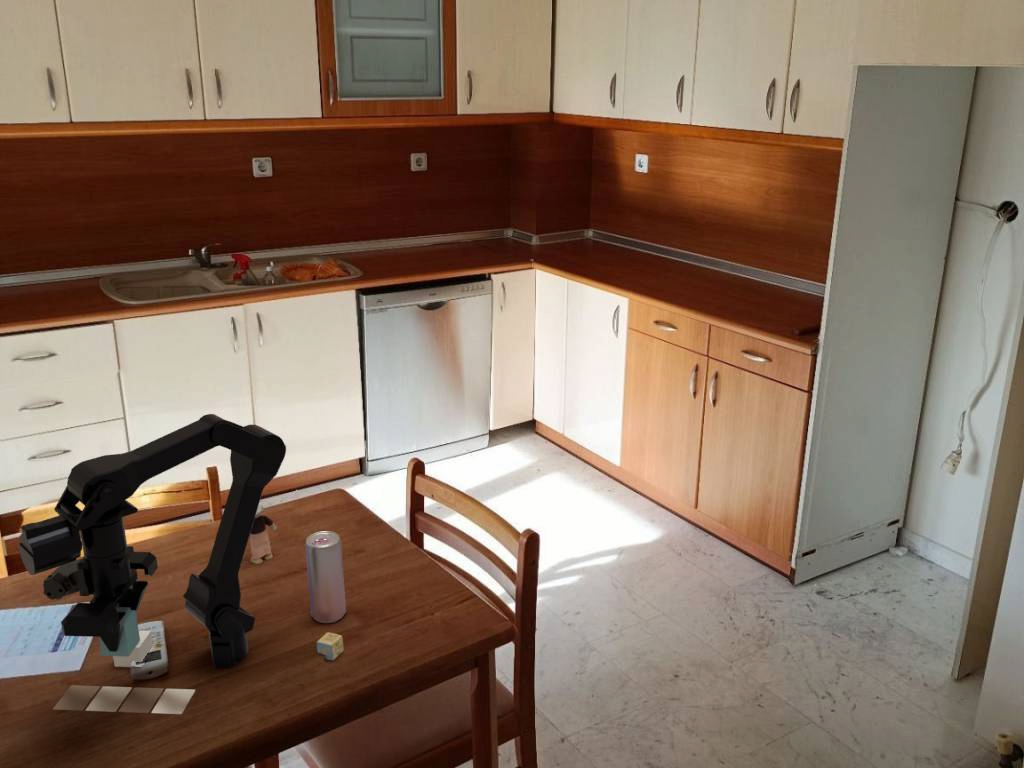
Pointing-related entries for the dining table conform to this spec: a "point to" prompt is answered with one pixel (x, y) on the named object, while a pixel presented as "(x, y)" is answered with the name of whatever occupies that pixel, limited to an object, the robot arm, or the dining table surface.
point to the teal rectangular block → (125, 635)
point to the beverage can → (325, 576)
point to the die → (136, 651)
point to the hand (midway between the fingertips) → (120, 642)
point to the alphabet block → (330, 645)
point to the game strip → (136, 701)
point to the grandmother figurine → (260, 537)
